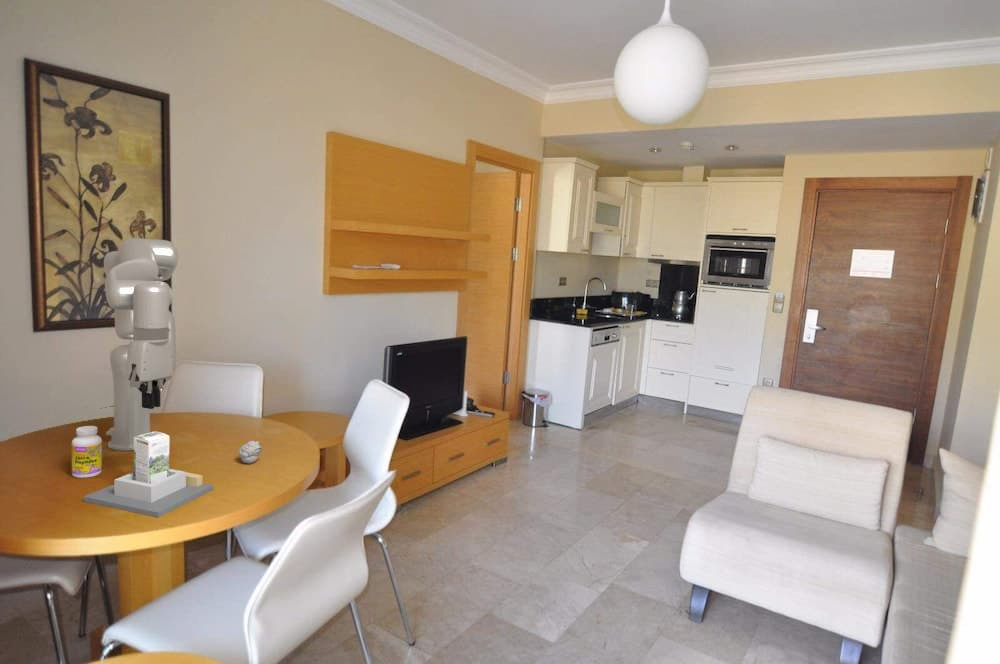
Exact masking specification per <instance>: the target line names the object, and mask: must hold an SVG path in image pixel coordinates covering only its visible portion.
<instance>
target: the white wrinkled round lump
mask: <svg viewBox="0 0 1000 664" xmlns="http://www.w3.org/2000/svg"><path fill="white" fill-rule="evenodd" d="M262 450H263V448H262V446H261V445H260V442H259V441H258V440H256V441H254V440H249V441H247V443H245V444H242V445H241V446H240V447H239V450H238V456H239V458H240V459H241V461H242V462H243V463H244V464H253V463H255V462H256V461H257V460H258V458H259V456H260V453H261V452H262Z"/></svg>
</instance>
